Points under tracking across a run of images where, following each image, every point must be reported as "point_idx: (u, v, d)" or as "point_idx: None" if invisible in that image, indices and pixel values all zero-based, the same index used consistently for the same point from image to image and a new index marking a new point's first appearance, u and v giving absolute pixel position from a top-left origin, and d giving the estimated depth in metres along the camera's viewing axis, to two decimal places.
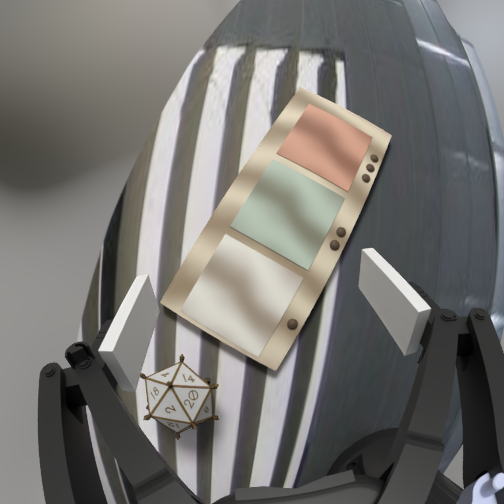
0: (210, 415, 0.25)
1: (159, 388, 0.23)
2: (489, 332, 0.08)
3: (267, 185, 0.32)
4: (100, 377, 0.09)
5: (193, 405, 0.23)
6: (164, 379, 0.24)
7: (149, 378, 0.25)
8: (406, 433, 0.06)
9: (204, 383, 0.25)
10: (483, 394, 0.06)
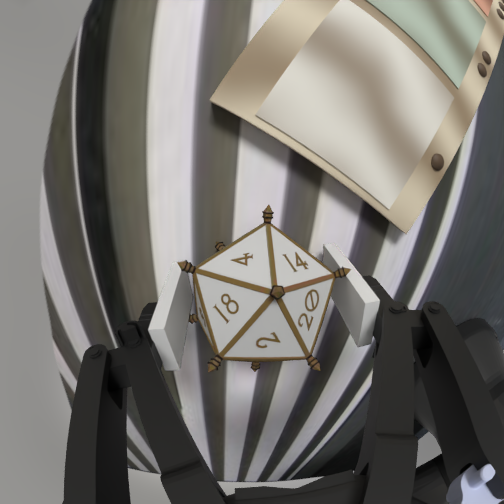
0: None
1: (238, 297, 0.12)
2: (447, 324, 0.09)
3: None
4: (148, 358, 0.10)
5: (311, 321, 0.13)
6: (249, 273, 0.12)
7: (205, 271, 0.13)
8: (375, 432, 0.06)
9: (322, 266, 0.14)
10: (452, 390, 0.07)
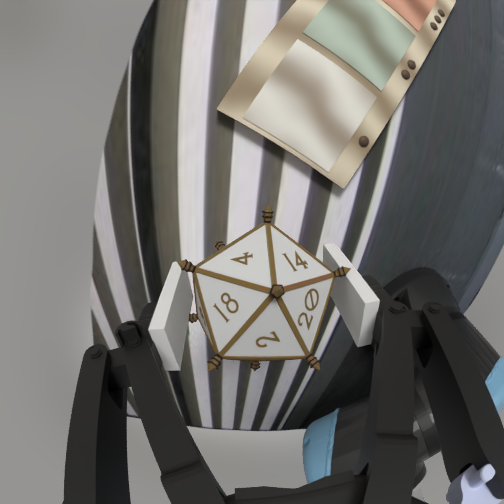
0: None
1: (238, 296, 0.12)
2: (447, 324, 0.09)
3: (342, 2, 0.18)
4: (148, 358, 0.10)
5: (311, 320, 0.13)
6: (248, 272, 0.12)
7: (205, 271, 0.13)
8: (375, 432, 0.06)
9: (322, 265, 0.14)
10: (452, 390, 0.07)
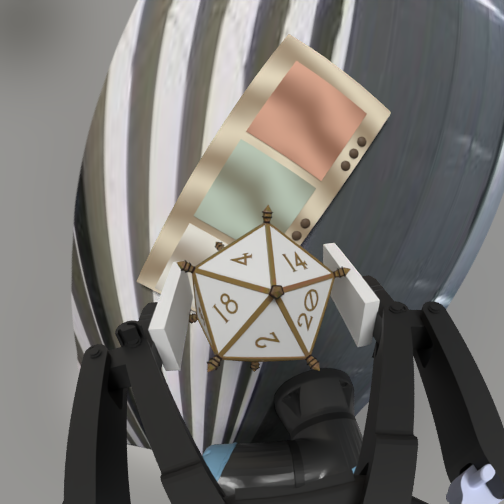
0: None
1: (237, 297, 0.12)
2: (447, 324, 0.09)
3: (233, 171, 0.29)
4: (148, 358, 0.10)
5: (311, 321, 0.13)
6: (248, 273, 0.12)
7: (204, 271, 0.13)
8: (374, 432, 0.06)
9: (322, 266, 0.14)
10: (452, 390, 0.07)
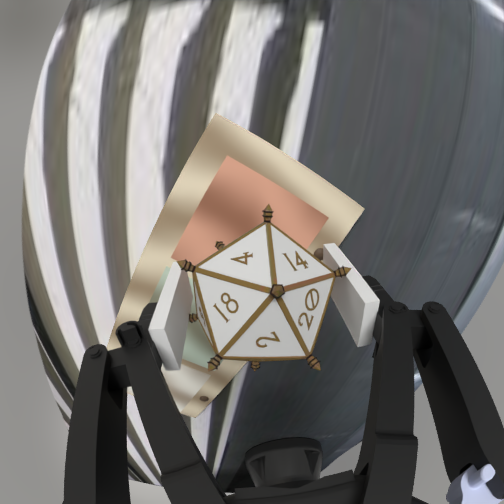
0: None
1: (238, 296, 0.12)
2: (447, 324, 0.09)
3: None
4: (148, 358, 0.10)
5: (312, 321, 0.13)
6: (249, 272, 0.12)
7: (204, 270, 0.13)
8: (374, 432, 0.06)
9: (323, 265, 0.14)
10: (452, 390, 0.07)
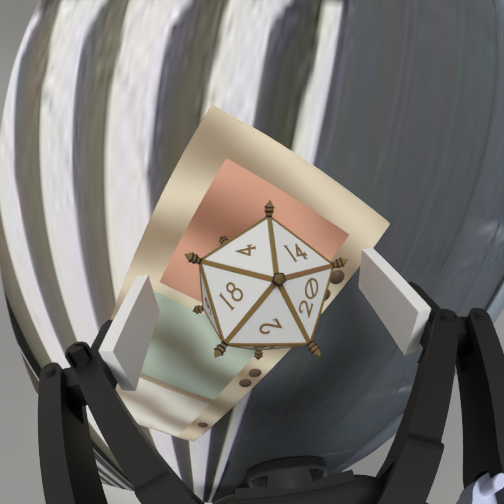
0: None
1: (242, 285, 0.13)
2: (489, 331, 0.08)
3: None
4: (100, 377, 0.09)
5: (311, 308, 0.13)
6: (252, 262, 0.13)
7: (210, 262, 0.14)
8: (406, 433, 0.06)
9: (321, 257, 0.14)
10: (483, 394, 0.06)
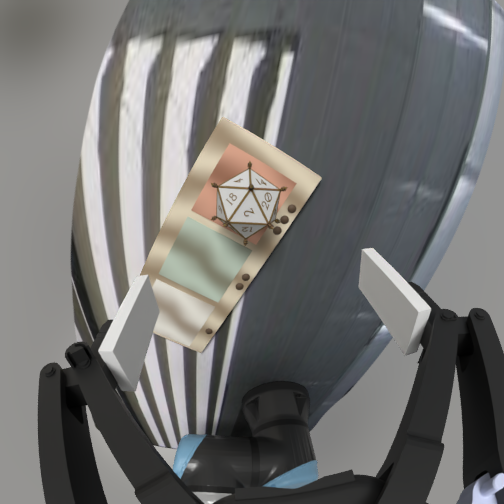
0: (274, 218, 0.33)
1: (236, 193, 0.29)
2: (489, 331, 0.08)
3: (184, 242, 0.38)
4: (100, 377, 0.09)
5: (268, 206, 0.30)
6: (240, 184, 0.29)
7: (222, 186, 0.30)
8: (406, 433, 0.06)
9: (274, 186, 0.31)
10: (483, 394, 0.06)
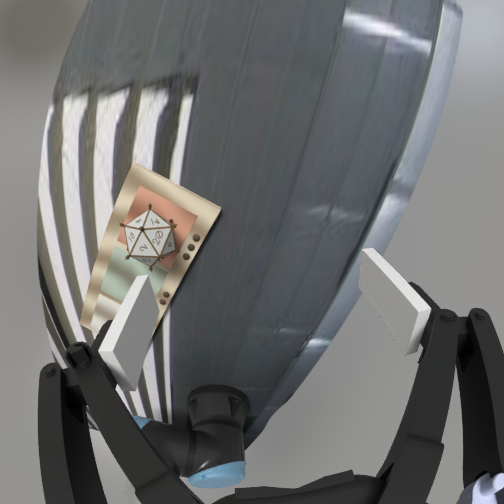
0: (173, 249, 0.38)
1: (134, 232, 0.34)
2: (489, 331, 0.08)
3: (115, 265, 0.43)
4: (100, 377, 0.09)
5: (159, 242, 0.35)
6: (138, 224, 0.34)
7: (127, 226, 0.35)
8: (406, 433, 0.06)
9: (167, 223, 0.36)
10: (484, 394, 0.06)
